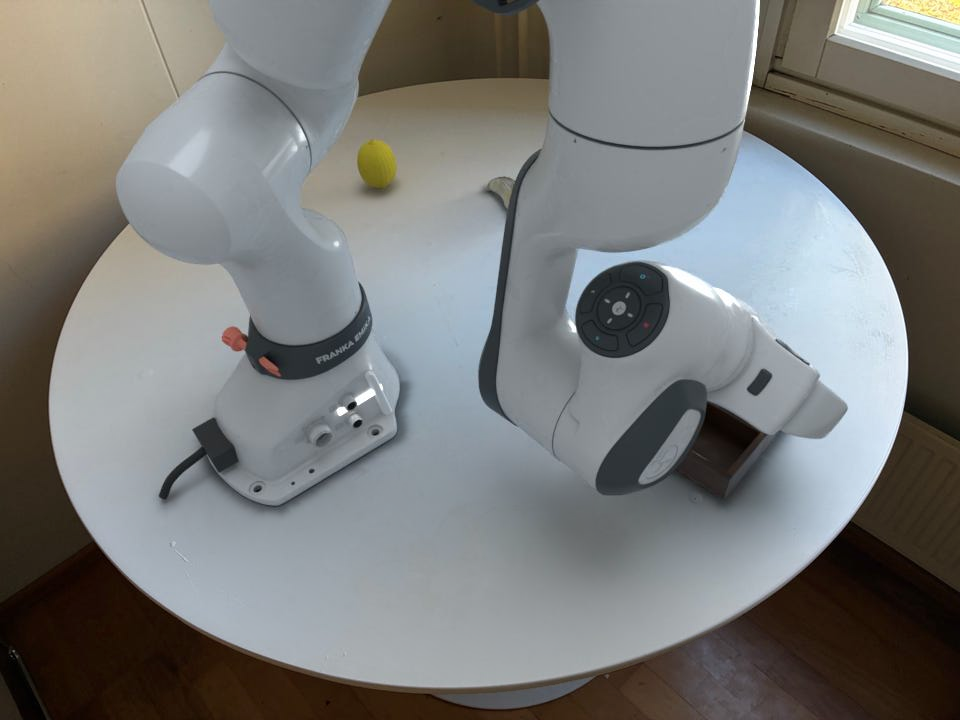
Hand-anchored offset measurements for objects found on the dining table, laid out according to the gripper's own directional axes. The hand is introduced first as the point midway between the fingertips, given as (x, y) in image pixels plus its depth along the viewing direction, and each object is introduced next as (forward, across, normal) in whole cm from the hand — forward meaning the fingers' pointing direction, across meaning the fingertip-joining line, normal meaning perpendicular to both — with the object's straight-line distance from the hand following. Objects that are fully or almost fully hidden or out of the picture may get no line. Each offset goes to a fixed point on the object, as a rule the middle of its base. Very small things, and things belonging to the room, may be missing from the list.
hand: (765, 365), depth 75 cm
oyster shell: (+7, -46, -4) cm, 47 cm away
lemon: (-1, -62, -12) cm, 63 cm away
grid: (+2, -3, -9) cm, 9 cm away
